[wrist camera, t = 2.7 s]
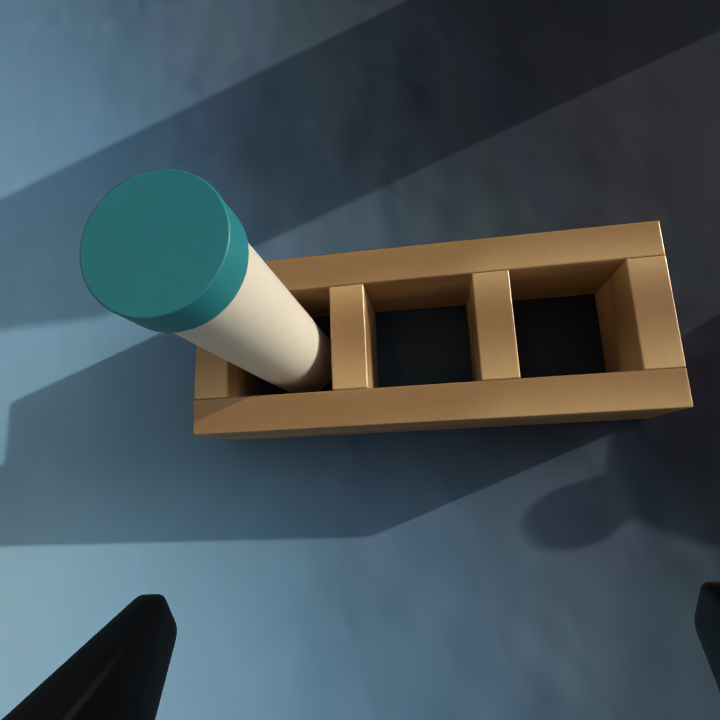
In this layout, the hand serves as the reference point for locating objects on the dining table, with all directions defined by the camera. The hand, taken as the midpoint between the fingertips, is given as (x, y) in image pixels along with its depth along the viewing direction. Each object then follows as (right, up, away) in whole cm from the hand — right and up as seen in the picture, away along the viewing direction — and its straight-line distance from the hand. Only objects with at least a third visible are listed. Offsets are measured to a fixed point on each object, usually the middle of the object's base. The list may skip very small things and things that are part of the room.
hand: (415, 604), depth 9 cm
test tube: (-4, +4, +16) cm, 16 cm away
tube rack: (+2, +4, +15) cm, 16 cm away
